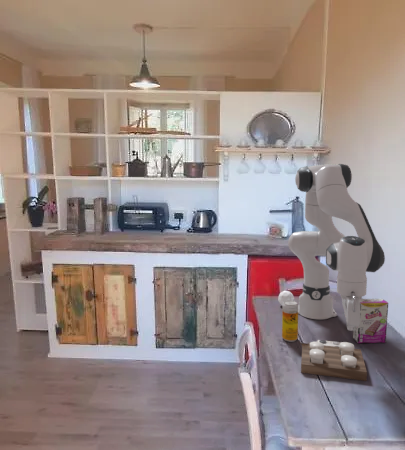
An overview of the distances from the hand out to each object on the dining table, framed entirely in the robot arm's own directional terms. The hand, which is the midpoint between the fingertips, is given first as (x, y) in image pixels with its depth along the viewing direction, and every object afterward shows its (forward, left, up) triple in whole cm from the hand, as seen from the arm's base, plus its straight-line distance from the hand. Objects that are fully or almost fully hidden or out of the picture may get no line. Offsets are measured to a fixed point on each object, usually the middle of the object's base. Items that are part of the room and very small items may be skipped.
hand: (349, 328), depth 121 cm
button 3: (0, -10, -13) cm, 16 cm away
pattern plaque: (-18, -5, -15) cm, 24 cm away
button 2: (-8, 0, -13) cm, 15 cm away
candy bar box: (-27, +10, -15) cm, 32 cm away
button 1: (-8, -10, -14) cm, 19 cm away
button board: (-4, -5, -15) cm, 16 cm away
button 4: (0, 0, -14) cm, 14 cm away
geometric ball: (-59, -24, -15) cm, 65 cm away
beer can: (-21, -20, -15) cm, 32 cm away
